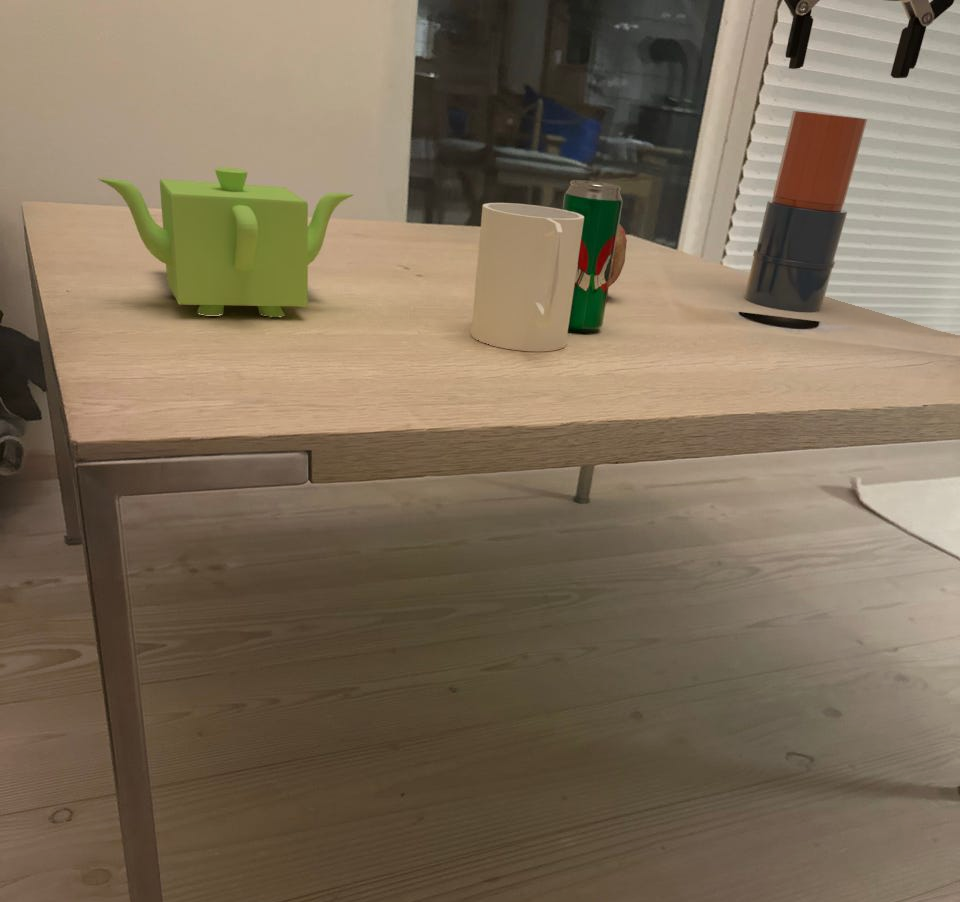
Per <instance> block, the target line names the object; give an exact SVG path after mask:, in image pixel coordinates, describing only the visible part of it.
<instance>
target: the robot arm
mask: <svg viewBox="0 0 960 902" xmlns="http://www.w3.org/2000/svg"><path fill="white" fill-rule="evenodd" d="M820 1H821V0H783V2H784V3H785V5H786V7H787V8H788V11H789V12H790V16H791V17H792V21H791V25H790V31H789V34H788V40H787V45H786V48H785V49H786V50H785V58H788V59H789V64H788V69H790V70H798V69H801V68H803V67H804V64H805V60H806V55H807V51H808V47H809V42H810V37H811V33H812V29H813V24H814V18H813V15H812V11H813V10H812V9H813V8H814V7H815V6H816V5H817V4H818V3H819V2H820ZM884 1H885V2H887V1H888V2H900V3H901V4H902V7H903V11H904V12H905V14H906V17H907V19H908V23H907V26H905V27H904V28H903V29H902V30H901V33H900V37H899V41H898V45H897V49H896V52H895V55H894V60H893V63H892V67H891V72H890V77H892V79H907V78H908V76H909V73H910V70H913V69H915V67H916V65H917V63H918V59H919V56H920V52H921V48H922V45H923V41H924V37H925V33H926V31H927V27H928V26H930V25H932V23H933V22H934V21H935V20H936V19H937V18H939V17H940V16H941V15H942V14H943V13H945V12H946V11H947V10H948V9H950V8H951V7H952V6H953V4H954V3H955V0H931V1H929V0H884Z"/></svg>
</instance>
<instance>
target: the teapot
mask: <svg viewBox="0 0 960 902" xmlns="http://www.w3.org/2000/svg"><path fill="white" fill-rule="evenodd" d="M214 171H215V175H216V178H217V180H218V182H211V181H196V180H178V179H165V178H164V179H163V178H162V179H160V180H159V192H160V204H161V216H162V217H161V219H162V226H160V225H158V223H156V221H155V220H154V219H153V217H152V215H151V213H150V210H149V209H148V206H147V203H146V201H145V199H144V196H143V195H142V193H141V191H140V190H139V189H138V188H137V186H135V185H134V184H133V183H132V182H129V181H128V180H122V179H116V178H104V177H102V178H101V177H100V178H97V179H98V180H99V181H100V182H102V183H103V184H106V185H107V186H109V187H110V188H112V189H114V190H115V191H117V193H118V194H119V195H120V196H121V197H122V199H123V200H124V202H125V203H126V205H127V207H128V210H129V211H130V214H131V216H132V218H133V221H134V224H135V227H136V230H137V232H138V235H139V237H140V239H141V241H142V243H143V244H144V246H145V248H146V249H147V251H148V252H149V253H150V255H152V256H153V257H154V258H156V259H157V260H158V261H160V262H161V263H163V264H165V270H166V281H167V284H168V286H169V288H170V289H171V292H172V294H173V296H174V297H175V300H176V302H177V304H178V305H192V306H193V305H194V306H197V305H198V308H197V311H196V313H197V312H198V313H200V314H204V315H219V314H222V313H223V314H224V311H225V306H253V307H255V306H256V307H257V309H258V313H259V315H260V314H262V315H266V316H272V317H279V316H283V315H285V316H286V314H285V312H284V311H283V309H282V307H308V306H309V284H308V283H309V281H308V280H309V276H308V275H309V268H308V267H309V265H310V264H311V263H312V262H313V261H315V260H316V258H317V256H318V255H319V253H320V251H321V249H322V247H323V245H324V241H325V236H326V233H327V229H328V225H329V221H330V219H331V216H332V215H333V212H334V211H335V210H336V208H337V207H338V206H339V205H340V204H341V203H342V202H344V201H346V200H347V199H350V198H351V197H353V196H354V194H353V193H346V192H345V193H344V192H343V193H342V192H329V193H327V194H324V195H323V196H322V197H321V198H320V199H319V200H318V202H317V204H316V206H315V209H314V211H313V214H312V217H311V220H310V222H308V221H309V220H308V219H309V214H308V212H309V203H308V202H307V201H306V200H305V199H303V198H302V197H300V196H299V195H297V194H296V193H294V192H293V191H291V190H290V189H288V188H286V187H285V186H274V185H273V186H272V185H260V184H259V185H257V184H246V181H247V177H248V171H246V169H243V168H237V167H217V168H215V169H214Z"/></svg>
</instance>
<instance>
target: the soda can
mask: <svg viewBox="0 0 960 902" xmlns="http://www.w3.org/2000/svg"><path fill="white" fill-rule="evenodd" d="M569 183H570V186H569V187H568V189H566V191H565V193H564V194H563V201H562V210H567V211H571V212H575V213H578V214H581V215H583V216H584V223H583V229H582V236H581V243H580V250H579V257H578V264H577V271H576V278H575V285H574V292H573V299H572V306H571V313H570V320H569V326H568V333H578V334H591V333H595V332H597V331H598V330H599V329H600V328H601V327H602V326H603V324H604V318H605V313H606V306H607V301H608V294H609V288H610V287H609V282H610V276H611V270H612V264H613V258H614V252H615V246H616V240H617V234H618V227H619V224H620V221H621V216H622V215H621V214H622V208H623V202H624V201H623V198H622V195H621V193H620V191H621V189H622V188H621V186H620V185H618V184H613V183H609V182H602V181H596V180H595V181H594V180H582V179H572V180H570V182H569Z"/></svg>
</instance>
